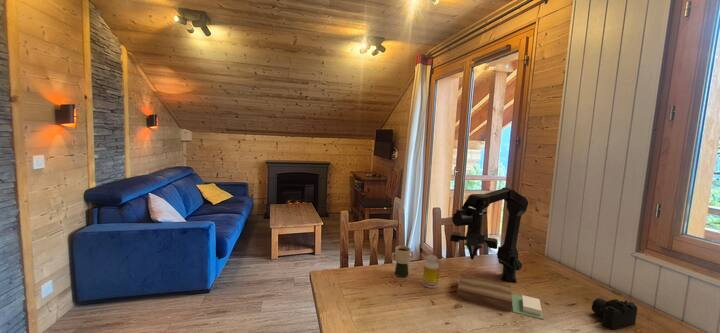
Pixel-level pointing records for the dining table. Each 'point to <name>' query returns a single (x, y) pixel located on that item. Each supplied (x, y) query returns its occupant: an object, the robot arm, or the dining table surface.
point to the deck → (485, 292)
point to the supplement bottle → (431, 272)
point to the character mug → (402, 260)
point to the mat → (518, 307)
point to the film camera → (615, 313)
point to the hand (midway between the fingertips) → (472, 259)
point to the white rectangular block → (531, 305)
